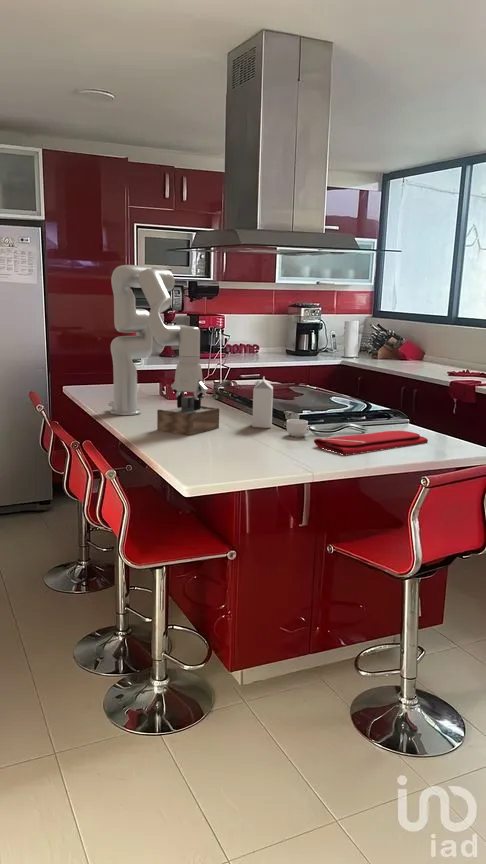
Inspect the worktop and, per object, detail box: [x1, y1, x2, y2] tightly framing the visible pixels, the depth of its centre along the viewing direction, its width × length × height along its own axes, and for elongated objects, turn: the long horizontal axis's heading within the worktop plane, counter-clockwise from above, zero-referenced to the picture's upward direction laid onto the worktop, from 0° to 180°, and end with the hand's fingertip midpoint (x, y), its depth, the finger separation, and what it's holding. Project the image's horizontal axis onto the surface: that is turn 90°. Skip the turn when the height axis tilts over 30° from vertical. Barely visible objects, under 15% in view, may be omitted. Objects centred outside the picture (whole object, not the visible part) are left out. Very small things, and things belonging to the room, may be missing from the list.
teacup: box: [286, 418, 310, 438], centre depth 250 cm, size 10×8×5 cm
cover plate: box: [165, 395, 211, 414], centre depth 256 cm, size 13×15×6 cm
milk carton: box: [251, 375, 274, 429], centre depth 265 cm, size 7×7×19 cm
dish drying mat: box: [313, 430, 429, 456], centre depth 240 cm, size 16×41×4 cm, turn 126°
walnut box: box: [156, 405, 220, 436], centre depth 257 cm, size 15×18×8 cm
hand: (188, 408), depth 256 cm, fingers open, 7 cm apart
